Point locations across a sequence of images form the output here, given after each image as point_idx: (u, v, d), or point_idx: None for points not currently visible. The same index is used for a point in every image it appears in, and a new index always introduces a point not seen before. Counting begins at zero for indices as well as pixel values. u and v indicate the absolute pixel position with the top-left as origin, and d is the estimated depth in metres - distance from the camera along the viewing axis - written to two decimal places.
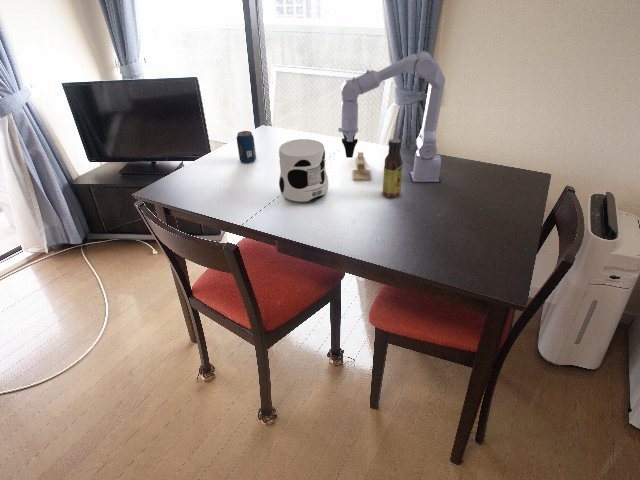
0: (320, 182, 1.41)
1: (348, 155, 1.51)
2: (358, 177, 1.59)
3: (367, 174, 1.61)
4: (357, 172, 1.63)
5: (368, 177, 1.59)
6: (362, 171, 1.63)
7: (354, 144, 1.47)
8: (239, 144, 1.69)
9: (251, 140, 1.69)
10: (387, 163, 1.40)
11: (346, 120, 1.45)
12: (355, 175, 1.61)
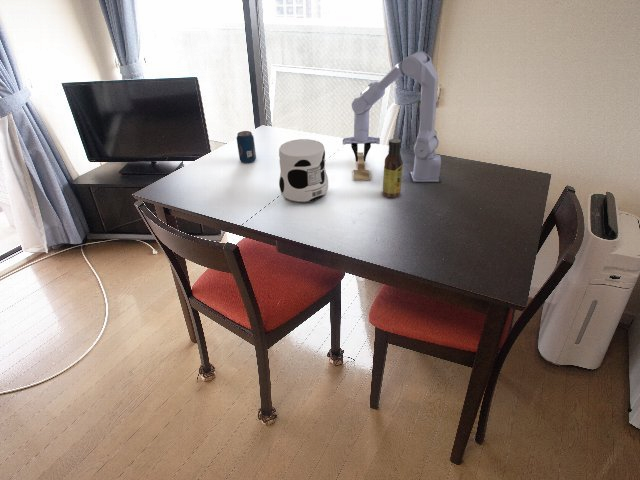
0: (320, 182, 1.41)
1: None
2: (358, 177, 1.59)
3: (367, 174, 1.61)
4: (357, 172, 1.63)
5: (368, 177, 1.59)
6: (362, 171, 1.63)
7: None
8: (239, 144, 1.69)
9: (251, 140, 1.69)
10: (387, 163, 1.40)
11: None
12: (355, 175, 1.61)
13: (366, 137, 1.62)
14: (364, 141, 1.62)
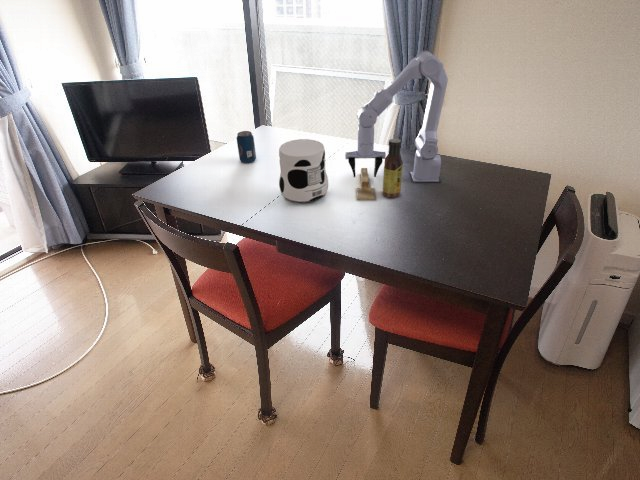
0: (320, 182, 1.41)
1: None
2: (362, 196, 1.47)
3: (372, 193, 1.49)
4: (360, 190, 1.50)
5: (373, 196, 1.46)
6: (366, 189, 1.51)
7: None
8: (239, 144, 1.69)
9: (251, 140, 1.69)
10: (387, 163, 1.40)
11: None
12: (359, 194, 1.48)
13: (371, 151, 1.49)
14: (369, 156, 1.50)
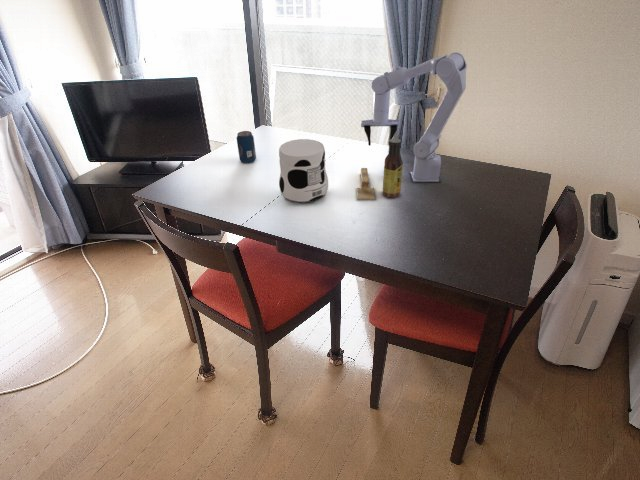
0: (320, 182, 1.41)
1: (368, 142, 1.62)
2: (362, 196, 1.47)
3: (372, 193, 1.49)
4: (360, 190, 1.50)
5: (373, 196, 1.46)
6: (366, 189, 1.51)
7: (365, 132, 1.58)
8: (239, 144, 1.69)
9: (251, 140, 1.69)
10: (387, 163, 1.40)
11: None
12: (359, 194, 1.48)
13: (386, 119, 1.55)
14: (384, 123, 1.55)
